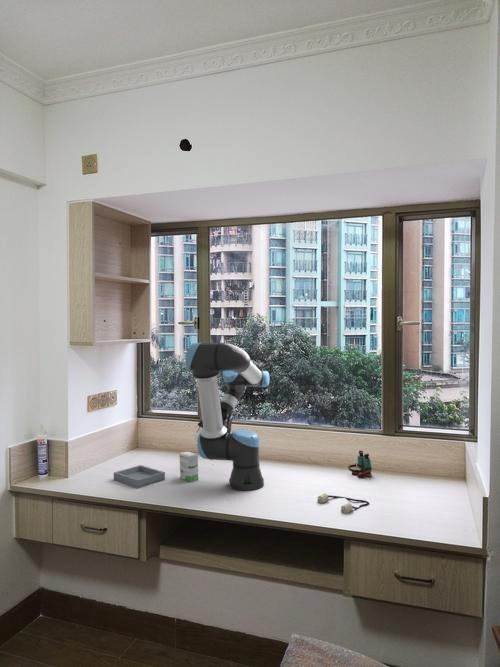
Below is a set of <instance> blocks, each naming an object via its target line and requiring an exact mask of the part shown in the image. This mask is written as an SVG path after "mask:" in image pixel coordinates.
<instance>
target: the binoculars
mask: <svg viewBox="0 0 500 667" xmlns="http://www.w3.org/2000/svg"><path fill="white" fill-rule="evenodd" d="M358 454H359V455H357V462H355V464H351V465H348V467H347V468H348V470H349V471H350V472H351V475H352V476H357V478H359V479H360V478H364V477H365V476H366V477H373V473H372V469H373V468H372V463H371V459H370V457H369V456H370V454H369V453H364V451H363V450H359V451H358ZM353 468H356V469H353ZM357 468H358V469H357Z"/></svg>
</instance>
